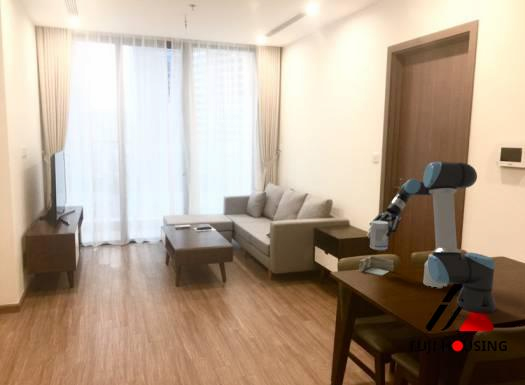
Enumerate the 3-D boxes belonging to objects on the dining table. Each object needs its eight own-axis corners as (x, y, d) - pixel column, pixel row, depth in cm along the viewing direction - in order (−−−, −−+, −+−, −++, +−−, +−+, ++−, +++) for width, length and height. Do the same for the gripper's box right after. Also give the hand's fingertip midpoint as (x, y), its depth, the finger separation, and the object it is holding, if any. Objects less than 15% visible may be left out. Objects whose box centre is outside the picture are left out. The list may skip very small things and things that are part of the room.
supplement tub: (390, 248, 232) (392, 222, 230) (381, 251, 225) (383, 224, 224) (375, 245, 239) (376, 219, 237) (366, 247, 232) (367, 221, 231)
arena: (382, 276, 224) (382, 266, 224) (358, 271, 233) (359, 260, 232) (393, 271, 235) (393, 260, 235) (370, 266, 244) (371, 255, 243)
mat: (381, 275, 226) (381, 275, 226) (364, 271, 233) (364, 271, 233) (389, 271, 234) (389, 271, 234) (372, 267, 240) (372, 267, 240)
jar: (437, 289, 207) (440, 259, 206) (420, 283, 215) (422, 255, 213) (450, 285, 214) (452, 256, 213) (432, 279, 222) (434, 252, 220)
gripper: (415, 215, 230) (395, 247, 223) (382, 209, 248) (362, 238, 241) (410, 206, 226) (389, 238, 219) (377, 200, 244) (356, 230, 237)
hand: (375, 238), depth 230 cm, fingers closed on supplement tub, 9 cm apart
